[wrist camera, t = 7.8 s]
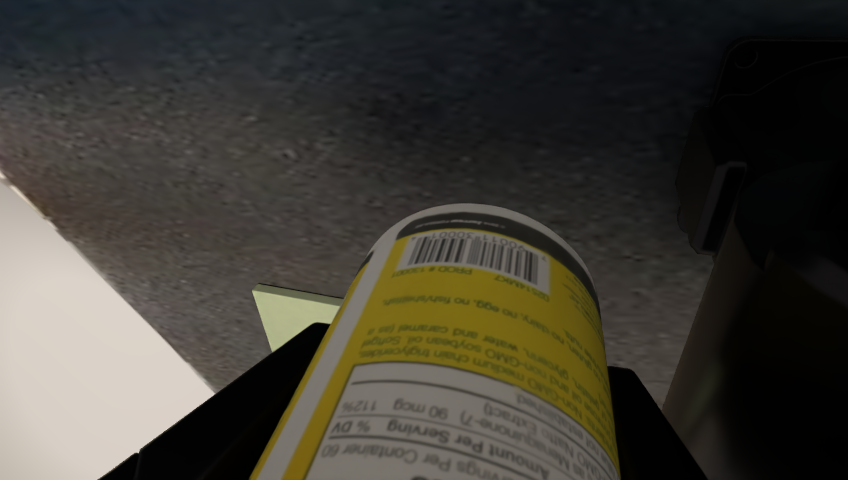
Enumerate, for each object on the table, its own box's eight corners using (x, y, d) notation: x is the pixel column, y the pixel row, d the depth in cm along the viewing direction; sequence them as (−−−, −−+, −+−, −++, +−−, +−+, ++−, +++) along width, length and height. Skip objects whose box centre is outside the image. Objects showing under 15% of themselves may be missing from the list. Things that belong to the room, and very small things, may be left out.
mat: (390, 307, 25) (386, 315, 24) (402, 405, 29) (399, 413, 29) (257, 283, 27) (251, 290, 26) (287, 378, 31) (282, 385, 31)
